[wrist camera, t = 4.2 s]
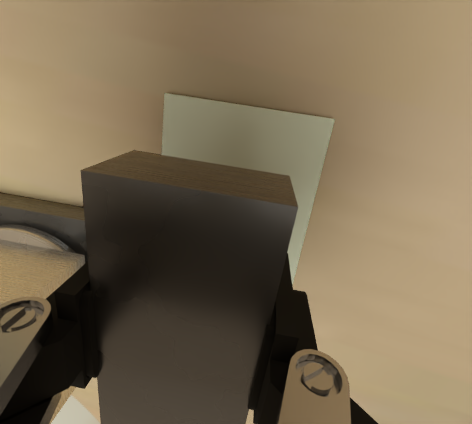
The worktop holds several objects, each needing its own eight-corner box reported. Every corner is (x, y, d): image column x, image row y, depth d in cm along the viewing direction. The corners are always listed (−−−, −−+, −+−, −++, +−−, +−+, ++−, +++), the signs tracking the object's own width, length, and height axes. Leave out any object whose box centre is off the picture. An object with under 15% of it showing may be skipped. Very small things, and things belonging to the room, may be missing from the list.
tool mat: (168, 93, 17) (164, 93, 16) (332, 118, 16) (334, 119, 16) (159, 263, 21) (156, 267, 21) (289, 287, 21) (290, 292, 20)
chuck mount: (-35, 186, 21) (-65, 193, 19) (134, 216, 20) (120, 227, 18) (-6, 323, 25) (-28, 340, 23) (132, 351, 25) (121, 371, 23)
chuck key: (194, 127, 14) (80, 170, 6) (279, 140, 14) (298, 206, 5) (183, 272, 18) (102, 438, 9) (251, 284, 18) (234, 466, 9)
